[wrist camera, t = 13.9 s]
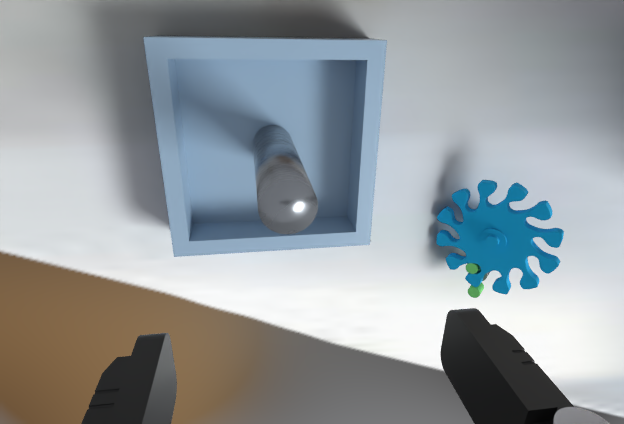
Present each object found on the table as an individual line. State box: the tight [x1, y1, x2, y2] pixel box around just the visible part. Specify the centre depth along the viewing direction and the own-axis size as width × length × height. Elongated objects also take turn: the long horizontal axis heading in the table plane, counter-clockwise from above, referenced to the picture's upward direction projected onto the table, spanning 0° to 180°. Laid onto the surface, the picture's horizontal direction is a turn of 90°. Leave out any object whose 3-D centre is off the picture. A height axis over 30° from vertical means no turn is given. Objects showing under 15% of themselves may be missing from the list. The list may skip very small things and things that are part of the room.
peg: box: [253, 125, 318, 234], centre depth 26 cm, size 3×3×12 cm
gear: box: [436, 180, 564, 298], centre depth 36 cm, size 11×6×10 cm
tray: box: [143, 36, 387, 257], centre depth 30 cm, size 15×15×4 cm
